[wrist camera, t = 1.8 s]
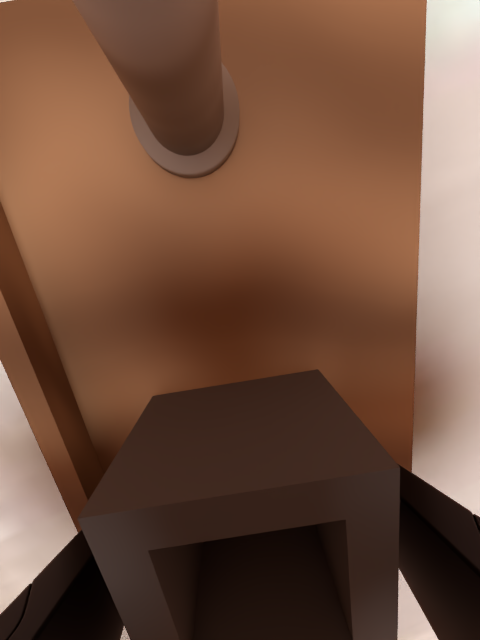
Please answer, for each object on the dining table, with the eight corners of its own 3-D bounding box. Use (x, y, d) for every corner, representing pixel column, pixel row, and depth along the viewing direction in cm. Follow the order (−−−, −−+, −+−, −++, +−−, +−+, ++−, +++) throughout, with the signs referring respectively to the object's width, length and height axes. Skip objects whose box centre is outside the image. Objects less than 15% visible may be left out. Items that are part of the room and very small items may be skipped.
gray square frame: (328, 498, 9) (396, 662, 5) (188, 520, 9) (157, 699, 6) (318, 368, 8) (400, 467, 4) (152, 395, 8) (77, 519, 4)
